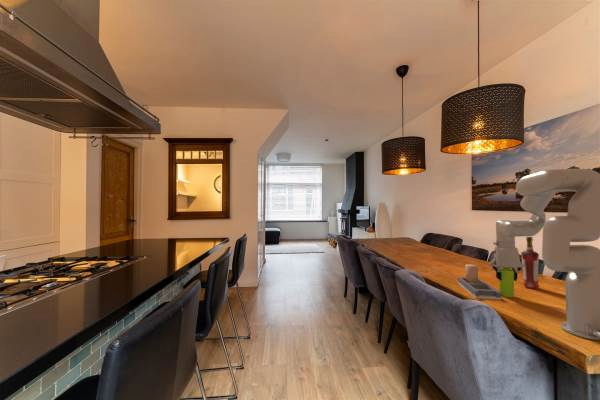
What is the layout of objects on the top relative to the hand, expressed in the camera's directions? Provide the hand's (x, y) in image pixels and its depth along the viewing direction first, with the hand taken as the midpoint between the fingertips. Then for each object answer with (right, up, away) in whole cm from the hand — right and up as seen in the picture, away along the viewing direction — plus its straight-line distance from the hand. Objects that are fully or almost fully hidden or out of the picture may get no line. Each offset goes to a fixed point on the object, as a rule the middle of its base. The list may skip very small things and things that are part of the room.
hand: (506, 279), depth 134 cm
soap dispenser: (0, -8, 0) cm, 8 cm away
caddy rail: (-9, -9, +8) cm, 15 cm away
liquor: (+23, -8, +12) cm, 27 cm away
